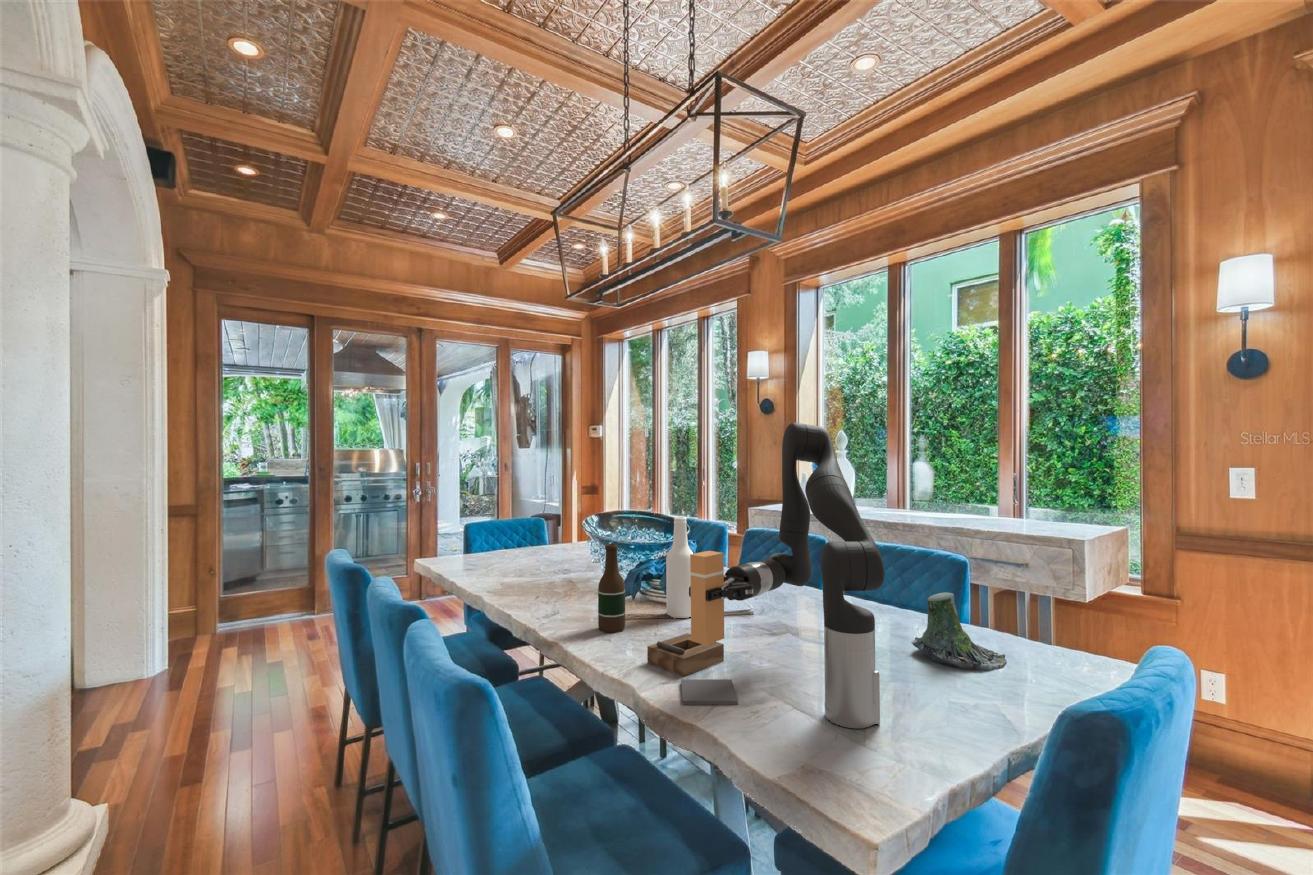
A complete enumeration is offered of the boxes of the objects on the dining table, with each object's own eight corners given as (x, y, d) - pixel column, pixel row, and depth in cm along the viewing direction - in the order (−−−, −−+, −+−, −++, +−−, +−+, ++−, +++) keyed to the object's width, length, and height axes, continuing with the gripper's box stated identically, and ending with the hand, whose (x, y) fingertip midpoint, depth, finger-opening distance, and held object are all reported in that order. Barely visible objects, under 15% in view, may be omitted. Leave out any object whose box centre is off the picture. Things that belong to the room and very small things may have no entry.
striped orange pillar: (690, 640, 124) (689, 554, 125) (709, 634, 129) (708, 550, 129) (705, 645, 122) (704, 556, 122) (724, 638, 126) (723, 552, 126)
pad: (731, 683, 130) (731, 679, 130) (737, 704, 119) (737, 700, 119) (681, 683, 130) (681, 679, 130) (682, 704, 119) (682, 700, 119)
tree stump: (1022, 676, 134) (1002, 599, 134) (931, 692, 138) (910, 616, 138) (991, 645, 152) (973, 577, 152) (911, 660, 156) (893, 593, 156)
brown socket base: (647, 663, 143) (647, 641, 143) (687, 648, 152) (687, 628, 153) (684, 676, 134) (684, 653, 134) (723, 660, 144) (723, 638, 144)
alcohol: (661, 613, 185) (661, 516, 186) (686, 610, 189) (686, 515, 190) (674, 620, 177) (673, 519, 178) (700, 617, 181) (699, 518, 182)
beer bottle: (630, 627, 171) (630, 543, 171) (615, 635, 164) (614, 547, 165) (608, 623, 175) (608, 541, 175) (592, 630, 168) (592, 545, 169)
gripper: (724, 559, 140) (673, 570, 128) (774, 568, 130) (725, 581, 118) (724, 591, 140) (673, 605, 128) (775, 602, 130) (725, 619, 118)
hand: (698, 594), depth 123 cm, fingers closed on striped orange pillar, 4 cm apart
